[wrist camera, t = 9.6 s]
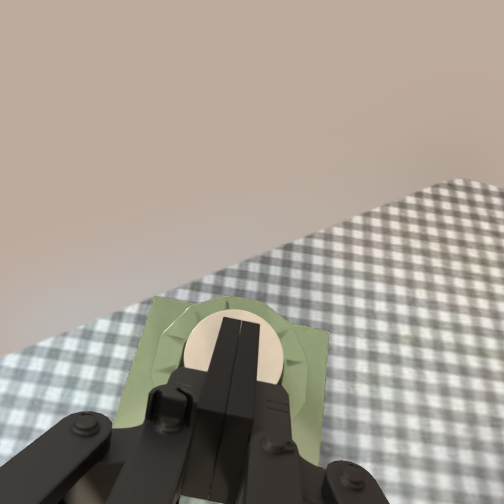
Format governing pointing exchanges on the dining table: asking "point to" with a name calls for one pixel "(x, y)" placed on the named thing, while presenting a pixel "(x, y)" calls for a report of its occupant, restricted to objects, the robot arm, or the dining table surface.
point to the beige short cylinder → (208, 329)
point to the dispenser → (172, 357)
